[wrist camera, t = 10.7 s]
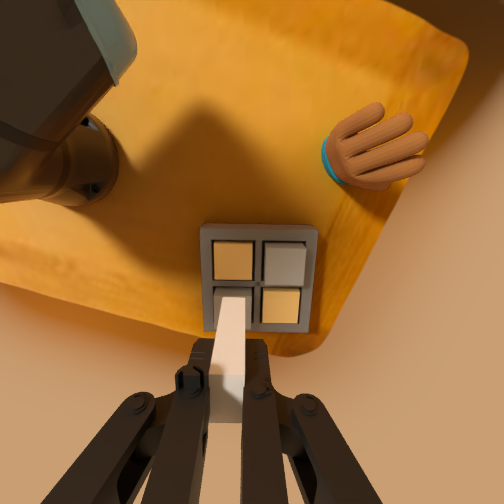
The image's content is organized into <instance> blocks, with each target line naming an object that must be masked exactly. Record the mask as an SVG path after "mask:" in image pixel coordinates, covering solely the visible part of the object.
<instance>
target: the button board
mask: <svg viewBox="0 0 504 504" xmlns="http://www.w3.org/2000/svg"><path fill="white" fill-rule="evenodd" d="M199 231H200V254H201V277H202V300H203V322H204V331H217V329H214V297H213V296H214V292H215V289H216V286H236V287H251V290H252V301H251V329H245V332H306V333H308V331H309V321H310V311H311V301H312V291H313V281H314V271H315V262H316V252H317V242H318V232H319V230H318V229H316V228H315V227H314V226H313V225H294V224H238V223H204V224H203V225H202V226H201V227H200V228H199ZM215 240H252V280H224V279H215V270H214V242H215ZM265 241H291V242H302V243H303V245H304V246H305V247H306V260H305V271H304V282H303V286H297V285H265V283H264V276H263V272H264V244H265ZM262 287H298V288H299V291H300V297H299V309H298V320H297V323H262V311H261V309H262Z"/></svg>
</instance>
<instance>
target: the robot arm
mask: <svg viewBox="0 0 504 504" xmlns="http://www.w3.org/2000/svg"><path fill="white" fill-rule="evenodd" d="M136 55H137V42H136V38H135V35H134V33H133V31H132V29H131V27H130V25H129V23H128V22H127V20H126V18H125V17H124V15H123V13H122V12H121V10H120V8H119V7H118V5H117V3H116V2H115V0H0V204H1V203H9V202H17V201H25V200H33V199H39V200H43V201H47V202H51V203H54V204H58V205H63V206H80V205H85V204H90V203H94V202H96V201H98V200H100V199H102V198H103V197H104V196H105V195H107V194H108V192H109V191H110V190H111V189H112V187H113V185H114V183H115V181H116V178H117V174H118V154H117V150H116V147H115V144H114V141H113V139H112V137H111V135H110V134H109V132H108V130H107V129H106V128H105V126H104V125H103V124H102V123H101V122H100V121H99V120H98V119H97V118H96V117H95V116H94V115H93V114H91V113H90V112H91V111H92V109H93V108H94V107H95V106H96V105H97V104H98V103H99V102H100V100H101V99H102V98H103V97H104V96H105V95H106V94H107V93H108V91H109V90H110V89H111V88H112V87H113V86H114V87H117V86H118V84H119V79H120V78H121V77H122V75H123V74H124V73H125V72H126V70H127V69H128V68H129V67H130V65H131V64H132V63H133V62H134V60H135V58H136ZM175 384H176V390H175V391H174V392H172V393H170V394H168V395H165V396H161V397H158V398H154V396H153V395H152V394H150V393H148V392H138V393H135V394H133V395H131V396H129V397H128V398H127V399H125V400H124V402H122V404H121V405H120V406H119V407H118V409H117V410H116V411H115V412H114V414H113V415H112V416H111V417H110V418H109V420H108V421H107V422H106V423H105V425H104V426H103V427H102V428H101V430H100V431H99V432H98V433H97V434H96V436H95V437H94V438H93V439H92V441H91V442H90V443H89V444H88V446H87V447H86V448H85V449H84V451H83V452H82V453H81V454H80V456H79V457H78V458H77V459H76V460H75V462H74V463H73V464H72V465H71V467H70V468H69V469H68V470H67V472H66V473H65V474H64V475H63V477H62V478H61V479H60V480H59V481H58V483H57V484H56V485H55V486H54V488H53V489H52V490H51V492H50V493H49V494H48V495H47V496H46V498H45V499H44V500H43V501H42V503H41V504H133V502H134V500H135V498H136V496H137V494H138V492H139V491H140V488H141V487H142V485H143V483H144V481H145V479H146V477H147V475H148V474H149V472H150V470H151V472H150V475H149V479H148V482H147V485H146V488H145V492H144V495H143V498H142V501H141V504H199V496H200V489H201V482H202V475H203V467H204V461H205V454H206V446H207V439H208V423H242V438H241V495H240V497H241V498H240V504H288V496H287V488H286V480H285V472H284V464H283V456H282V453H284V454H287V456H288V459H289V462H290V464H291V467H292V470H293V473H294V476H295V478H296V481H297V484H298V486H299V489H300V492H301V495H302V498H303V500H304V503H305V504H383V503H382V502H381V500H380V498H379V497H378V495H377V493H376V492H375V490H374V488H373V487H372V485H371V483H370V482H369V480H368V478H367V476H366V475H365V473H364V471H363V470H362V468H361V466H360V465H359V463H358V461H357V460H356V458H355V456H354V455H353V453H352V452H351V450H350V448H349V446H348V445H347V443H346V441H345V439H344V438H343V436H342V434H341V433H340V431H339V429H338V428H337V426H336V425H335V423H334V421H333V419H332V418H331V416H330V414H329V413H328V411H327V409H326V408H325V406H324V404H323V403H322V402H321V401H320V400H319V399H318V398H317V397H315V396H314V395H311V394H300V395H297V396H296V397H295V398H294V399H292V398H288V397H285V396H283V395H281V394H280V393H278V392H277V391H276V390H275V389H274V387H273V386H272V383H271V377H270V368H269V360H268V351H267V345H266V344H265V342H264V341H263V339H245V298H240V297H223V298H222V303H221V309H220V315H219V320H218V326H217V331H216V337H215V339H207V338H199V339H198V340H197V341H196V342H195V343H194V344H193V348H192V351H191V354H190V358H189V361H188V364H187V365H185V366H183V367H181V368H180V369H179V370H178V371H177V373H176V374H175ZM151 468H152V469H151Z"/></svg>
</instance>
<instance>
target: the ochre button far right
mask: <svg viewBox="0 0 504 504" xmlns="http://www.w3.org/2000/svg"><path fill="white" fill-rule="evenodd" d="M299 297H300V291H299V288H298V287H262V309H261V311H262V323H297V320H298V309H299Z"/></svg>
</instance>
